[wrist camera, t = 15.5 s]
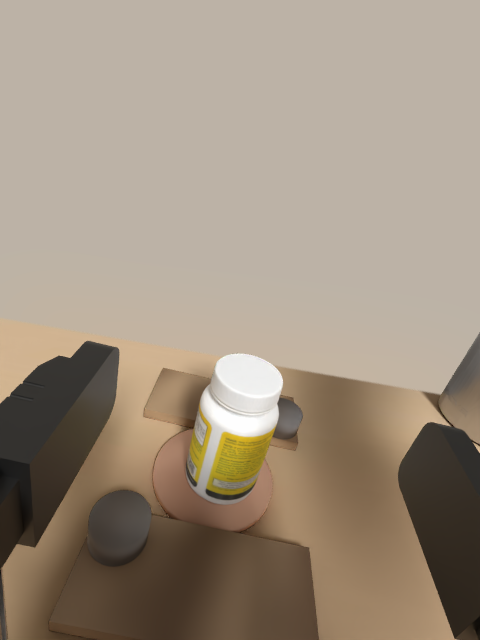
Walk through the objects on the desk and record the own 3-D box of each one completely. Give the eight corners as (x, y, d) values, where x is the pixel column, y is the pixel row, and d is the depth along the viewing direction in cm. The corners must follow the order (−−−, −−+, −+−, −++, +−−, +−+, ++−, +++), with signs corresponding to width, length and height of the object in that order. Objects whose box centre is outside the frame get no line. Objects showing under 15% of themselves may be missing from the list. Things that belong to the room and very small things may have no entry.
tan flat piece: (290, 404, 33) (298, 384, 32) (316, 682, 16) (335, 658, 15) (162, 375, 33) (165, 353, 32) (48, 630, 16) (48, 601, 15)
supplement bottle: (267, 474, 25) (304, 377, 21) (228, 522, 21) (265, 415, 17) (213, 435, 27) (238, 340, 23) (168, 474, 23) (190, 368, 19)
